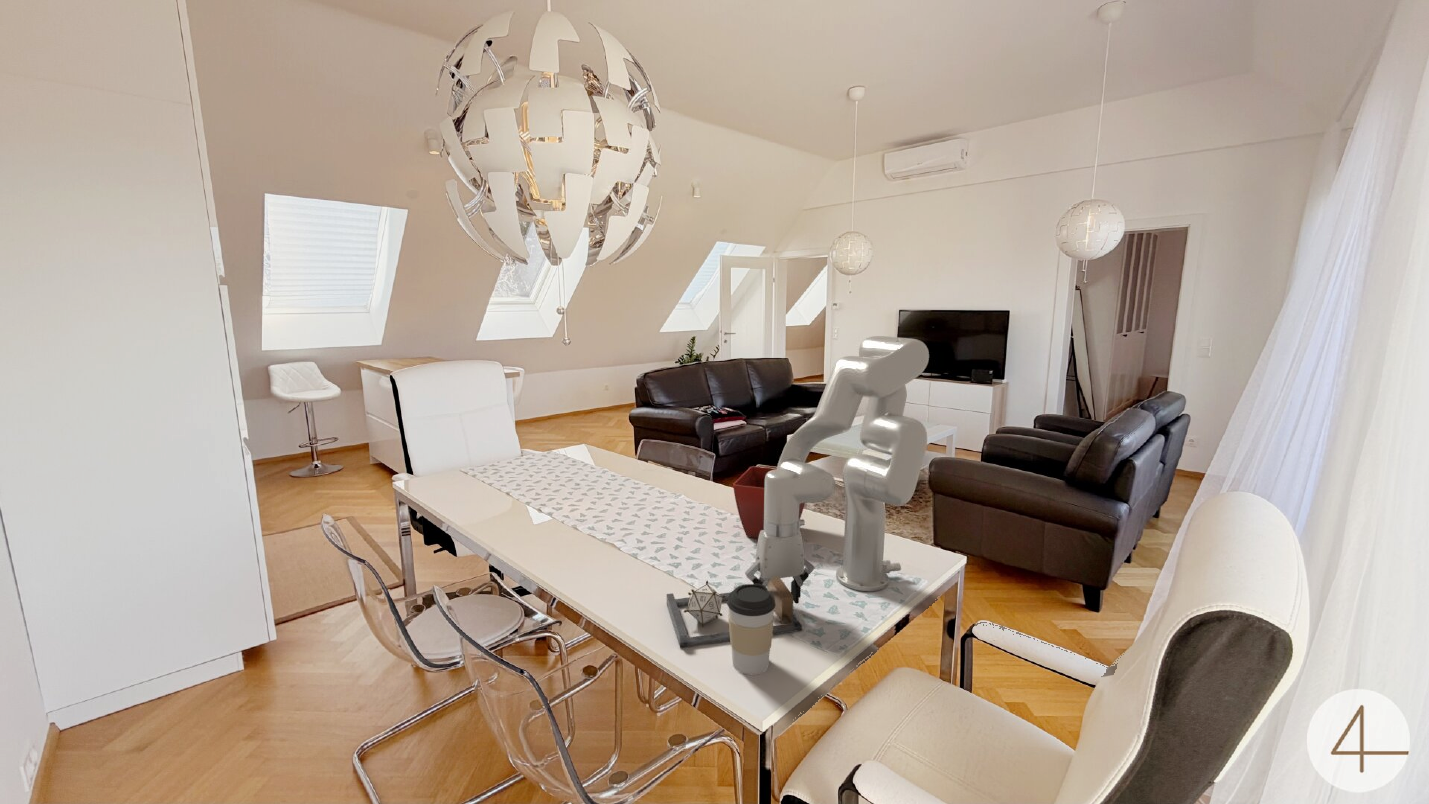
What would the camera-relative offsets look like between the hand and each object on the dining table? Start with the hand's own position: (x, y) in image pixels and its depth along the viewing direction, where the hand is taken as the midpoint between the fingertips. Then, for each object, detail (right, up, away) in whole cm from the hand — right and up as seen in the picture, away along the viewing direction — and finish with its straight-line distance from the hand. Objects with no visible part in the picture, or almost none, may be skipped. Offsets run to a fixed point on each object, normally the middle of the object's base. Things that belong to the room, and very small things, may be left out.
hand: (779, 601), depth 129 cm
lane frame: (-11, -3, -2) cm, 11 cm away
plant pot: (+3, +5, +44) cm, 44 cm away
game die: (-16, -3, -4) cm, 17 cm away
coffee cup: (-8, -6, -18) cm, 20 cm away
